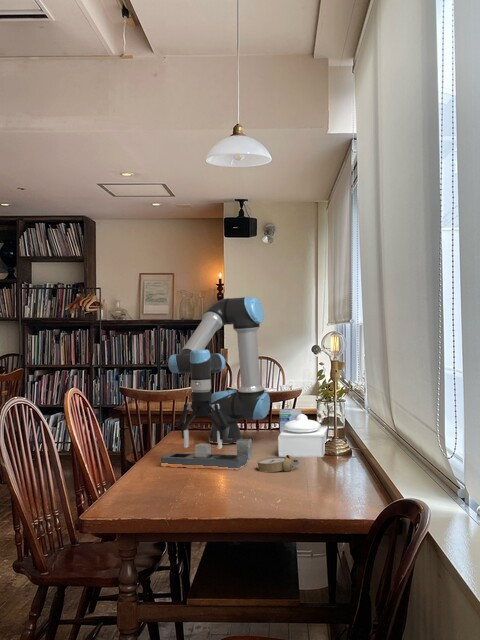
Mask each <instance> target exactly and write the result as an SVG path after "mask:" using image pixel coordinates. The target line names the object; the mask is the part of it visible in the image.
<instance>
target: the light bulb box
mask: <svg viewBox="0 0 480 640" xmlns="http://www.w3.org/2000/svg"><path fill="white" fill-rule="evenodd" d="M300 414H303V408H281V409H280V410H279V434H280V433H281V432H282V431H283V430H284V429H285V428H284V425H285V424H286V423H287V422H289V421H293V420H296V417H297V416H298V415H300Z"/></svg>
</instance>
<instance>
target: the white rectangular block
mask: <svg viewBox="0 0 480 640" xmlns="http://www.w3.org/2000/svg"><path fill="white" fill-rule="evenodd" d="M252 442H253V441H252V438H242V439H239V440H237V443H236V455H247V460H250V459H252V460H253V449H252V448H253V447H252Z"/></svg>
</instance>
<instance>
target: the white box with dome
mask: <svg viewBox="0 0 480 640" xmlns="http://www.w3.org/2000/svg"><path fill="white" fill-rule="evenodd" d="M321 426H322V425H321V423H320V422H319V421H316V420H314V419H313V420H312V419H308V416H307V415H305V414H303V413H302V414H300V415H298V416H297V417H296V420H293V421H289V422H287V423H286V424H285V425H284V428H285V429H284V430H283V431H282V432H281V433H280V432H279V434H278V437H277V443H278V444H277V446H278V447H277V448H278V457H286V456H287V455H291V456H292V457H293V458H324V456H325V454H326V452H325V443H326V442H327V431H328V427H321Z"/></svg>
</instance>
